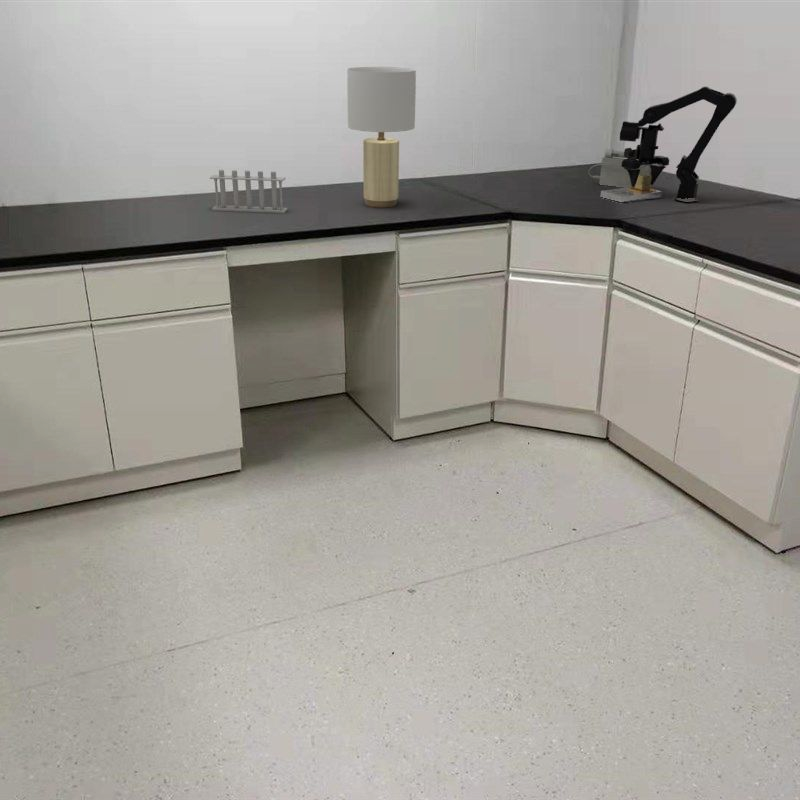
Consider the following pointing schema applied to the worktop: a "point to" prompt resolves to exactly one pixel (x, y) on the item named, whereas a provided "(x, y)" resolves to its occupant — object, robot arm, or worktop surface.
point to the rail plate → (628, 194)
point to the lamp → (381, 125)
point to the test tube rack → (248, 192)
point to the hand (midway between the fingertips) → (642, 185)
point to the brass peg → (643, 182)
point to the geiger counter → (616, 170)
